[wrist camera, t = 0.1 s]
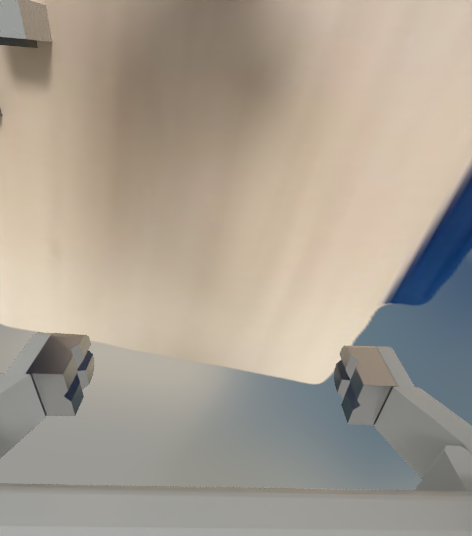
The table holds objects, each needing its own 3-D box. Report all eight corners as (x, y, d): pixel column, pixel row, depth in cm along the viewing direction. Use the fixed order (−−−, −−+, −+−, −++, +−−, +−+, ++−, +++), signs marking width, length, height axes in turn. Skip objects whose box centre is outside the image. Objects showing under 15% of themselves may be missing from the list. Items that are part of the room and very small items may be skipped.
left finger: (6, 1, 43) (-29, -8, 37) (45, 5, 44) (17, -4, 38) (16, 45, 46) (-16, 43, 40) (53, 49, 46) (27, 47, 40)
